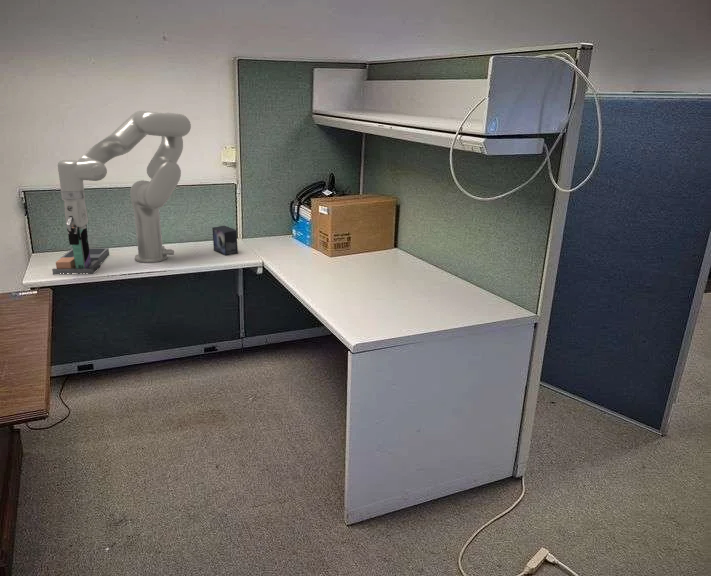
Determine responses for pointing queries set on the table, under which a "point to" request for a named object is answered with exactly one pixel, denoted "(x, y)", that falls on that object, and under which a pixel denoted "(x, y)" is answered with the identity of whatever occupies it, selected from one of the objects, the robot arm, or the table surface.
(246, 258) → the table surface
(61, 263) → the block
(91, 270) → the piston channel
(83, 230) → the spray can
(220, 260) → the table surface
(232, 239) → the small box
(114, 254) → the table surface
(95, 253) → the tray
